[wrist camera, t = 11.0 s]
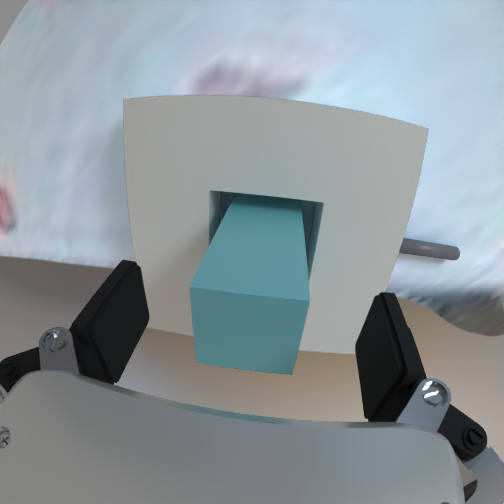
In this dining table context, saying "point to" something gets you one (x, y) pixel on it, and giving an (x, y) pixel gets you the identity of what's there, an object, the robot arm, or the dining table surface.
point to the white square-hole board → (278, 185)
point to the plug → (253, 287)
